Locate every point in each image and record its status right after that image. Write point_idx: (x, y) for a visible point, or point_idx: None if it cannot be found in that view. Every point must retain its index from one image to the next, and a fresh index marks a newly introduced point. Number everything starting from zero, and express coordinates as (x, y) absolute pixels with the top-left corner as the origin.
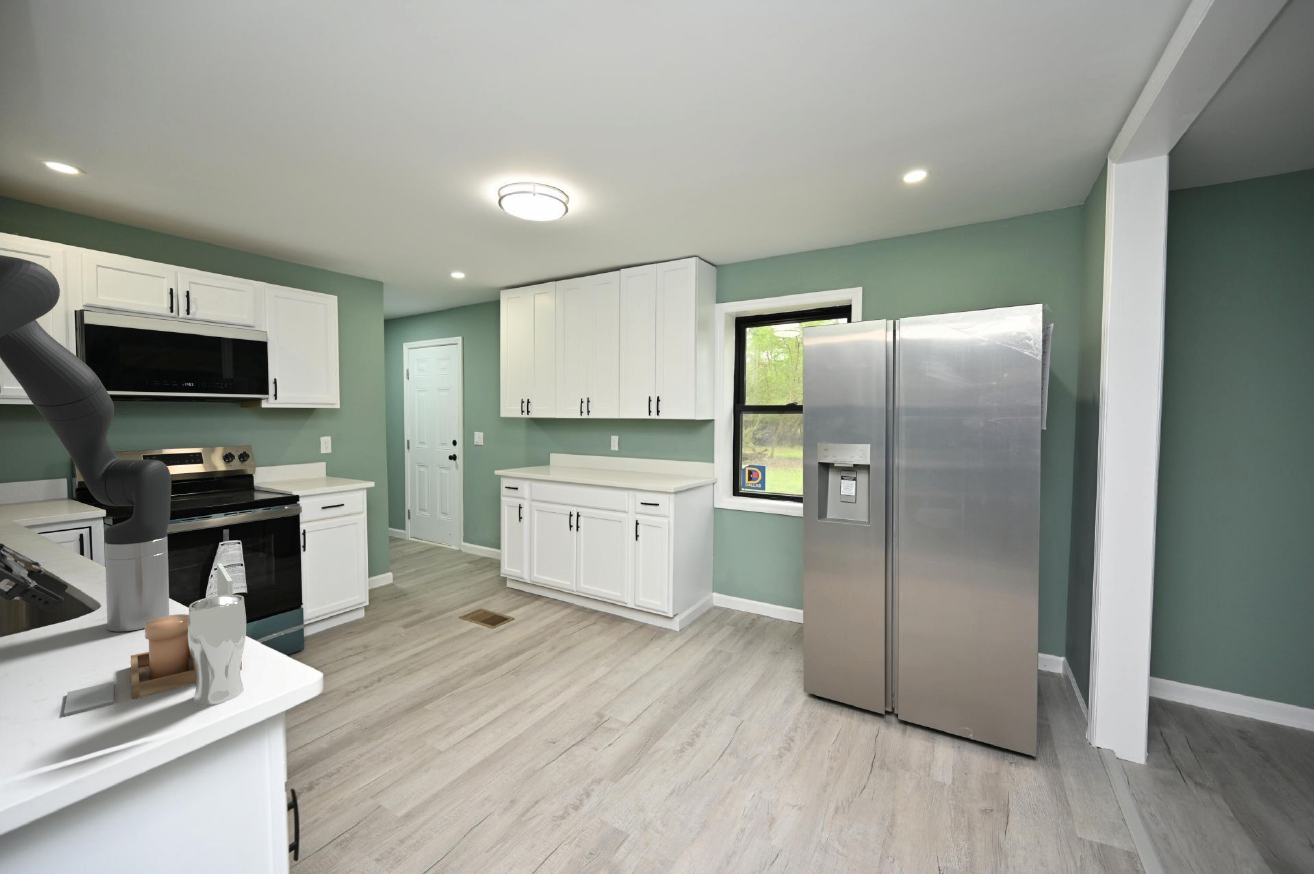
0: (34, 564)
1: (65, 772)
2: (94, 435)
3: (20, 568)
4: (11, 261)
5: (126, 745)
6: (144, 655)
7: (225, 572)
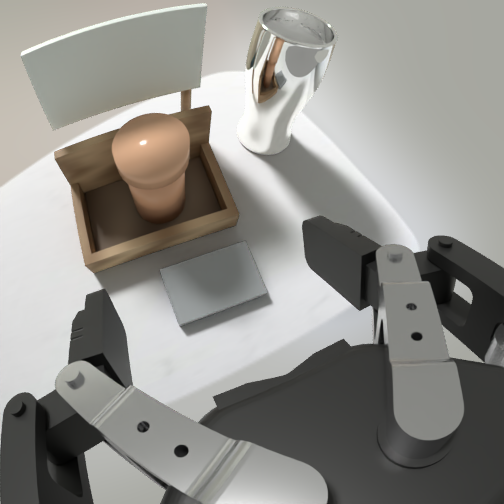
0: (39, 412)
1: (391, 233)
2: None
3: (422, 291)
4: None
5: (353, 196)
6: (90, 245)
7: (122, 18)
